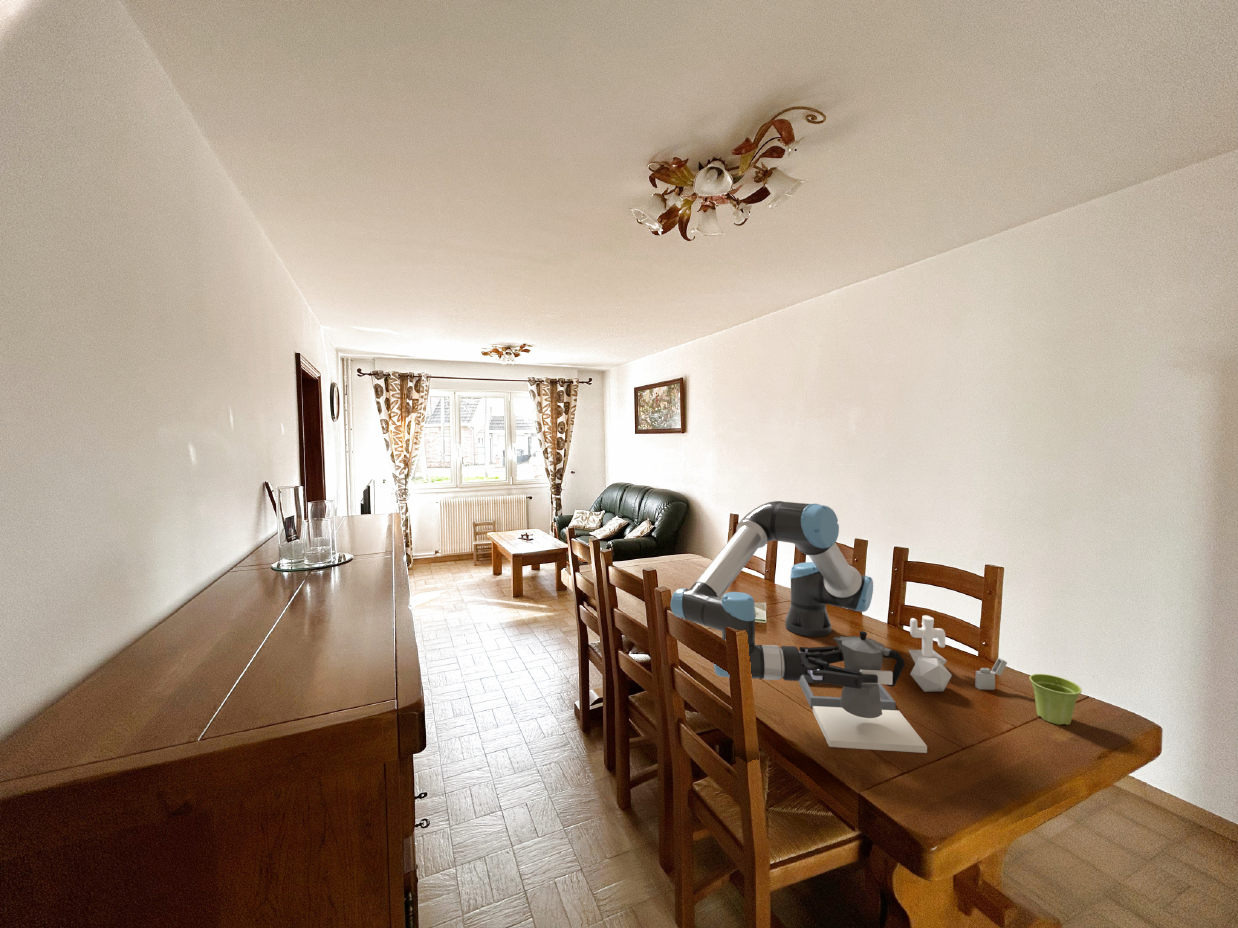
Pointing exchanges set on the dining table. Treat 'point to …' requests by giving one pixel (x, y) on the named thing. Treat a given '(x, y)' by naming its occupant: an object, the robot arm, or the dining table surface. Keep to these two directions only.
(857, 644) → the coffeepot
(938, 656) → the figurine
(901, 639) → the dining table surface
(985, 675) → the lighter
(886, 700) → the rimmed stand
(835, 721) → the trivet
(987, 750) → the dining table surface
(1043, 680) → the plant pot
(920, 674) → the die
